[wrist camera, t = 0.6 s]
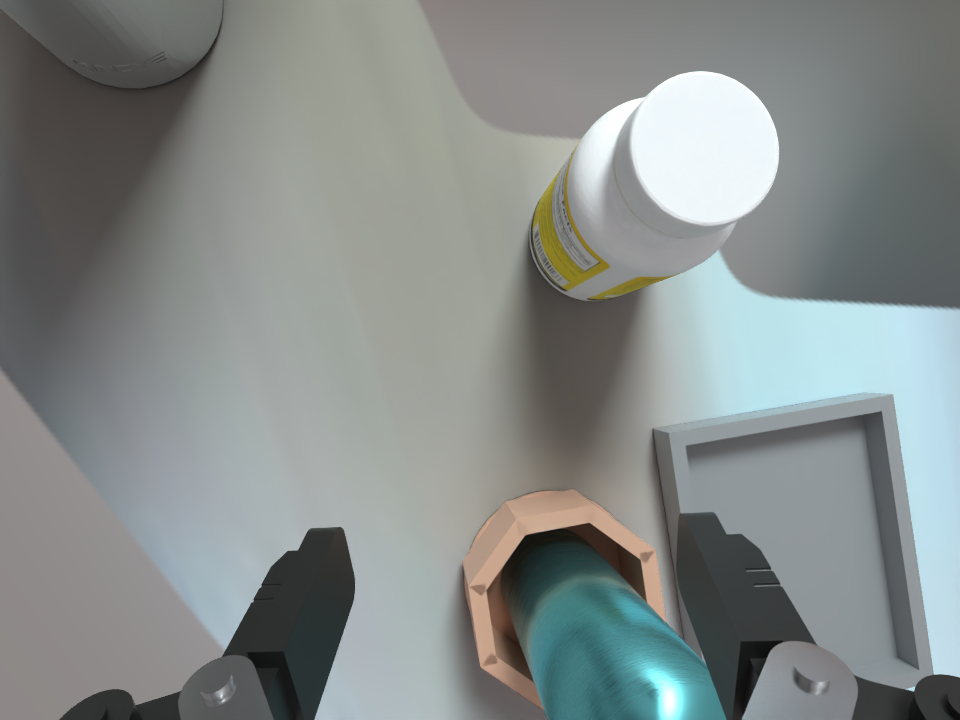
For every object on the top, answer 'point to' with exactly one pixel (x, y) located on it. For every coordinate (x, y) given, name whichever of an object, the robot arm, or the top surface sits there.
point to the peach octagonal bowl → (500, 541)
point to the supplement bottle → (655, 187)
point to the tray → (814, 520)
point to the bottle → (598, 638)
